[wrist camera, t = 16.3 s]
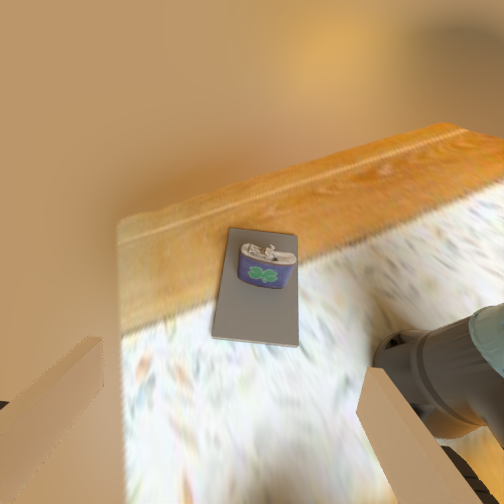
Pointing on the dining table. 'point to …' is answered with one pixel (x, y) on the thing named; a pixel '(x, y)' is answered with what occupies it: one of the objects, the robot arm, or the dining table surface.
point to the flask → (264, 266)
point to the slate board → (257, 297)
